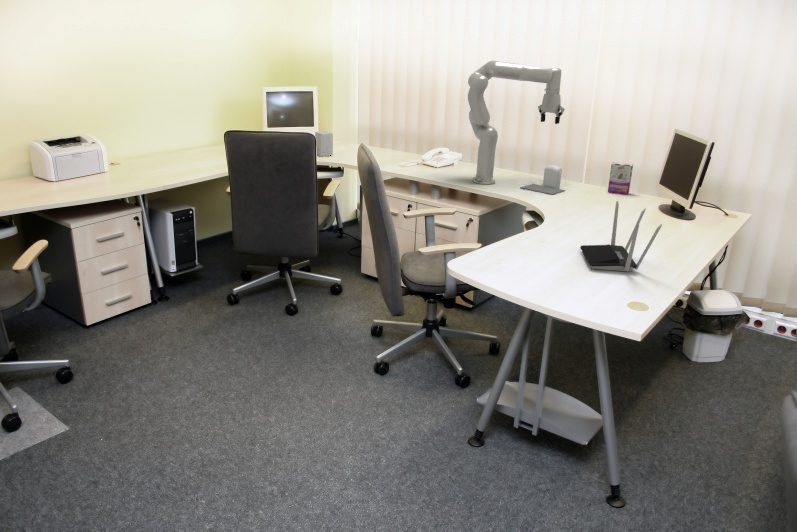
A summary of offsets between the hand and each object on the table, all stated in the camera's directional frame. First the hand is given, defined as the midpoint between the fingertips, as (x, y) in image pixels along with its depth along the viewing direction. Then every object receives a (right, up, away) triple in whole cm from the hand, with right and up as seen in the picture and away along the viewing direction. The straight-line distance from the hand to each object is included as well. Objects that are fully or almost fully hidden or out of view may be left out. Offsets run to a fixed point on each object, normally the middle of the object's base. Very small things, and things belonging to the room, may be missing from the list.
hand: (549, 122), depth 370 cm
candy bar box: (+36, -41, -7) cm, 55 cm away
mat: (-6, -39, -7) cm, 40 cm away
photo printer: (+1, -37, 0) cm, 37 cm away
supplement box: (-134, -8, +61) cm, 148 cm away
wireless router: (-2, -80, -118) cm, 143 cm away
